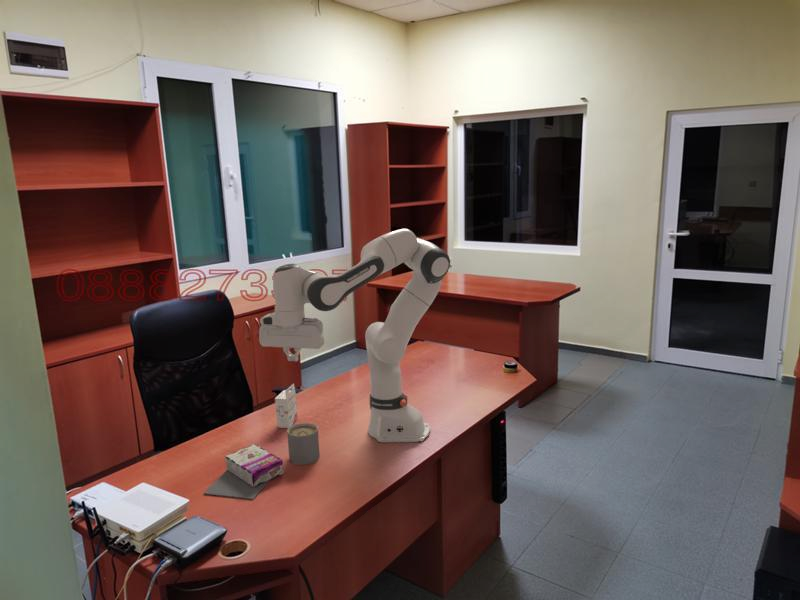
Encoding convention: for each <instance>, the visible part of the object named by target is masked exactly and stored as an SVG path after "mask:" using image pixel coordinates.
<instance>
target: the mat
mask: <svg viewBox="0 0 800 600" xmlns="http://www.w3.org/2000/svg"><path fill="white" fill-rule="evenodd" d="M270 480H271V479H270ZM270 480H268V481H266V482H263V483H261V484H259V485H257V486H255V487H252V486H251V485H249V484H248V483H246V482H245V481H243V480H242V479H240V478H239V477H237V476H236V475H235V474H233V473H231V472H230V471H229V470H227V469H226V470H225V471H224V472H223V473H222V474H221V475H220V476H219V477H218V478H217V479H216V480H215V481H214V482H213V483H212V484H211V485H210V486H209V487H208V488H207V489H206V490H205V491H204V492H203V495H205V494H210V495H209V496H214V495H216V496H217V497H223V496H225V498H232V497H234V499H241V498H244V499H243V500H250V499H251V500H252V501H254V500H255V499H256V497H257V496H258V495H259V494H260V493H261V491H262V490H263V489H264V488H265V486H267V484H268V483H270Z"/></svg>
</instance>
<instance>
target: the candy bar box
mask: <svg viewBox="0 0 800 600" xmlns="http://www.w3.org/2000/svg"><path fill="white" fill-rule="evenodd" d="M224 459H225V468H226V471H227V470H229V471H230V472H231V473H233V474H235V475H236V476H237V477H239V478H240V479H242V480H243V481H245V482H246V483H248V484H249V485H251V486H252V487H255V486H257V485H259V484H261V483H263V482H266V481H268V480H272V479H274V478H276V477H279V476H281V475H283V474H285V471H284V462H283V461H284V460H283V459H282V458H280V457H278V456H276V455H275V454H273V453H271V452H270V451H268V450H266V449H264V448H262V446H260V445H257V444H256V443H254V444H250V445H249V446H246V447H244V448H241V449H239V450H236V451H234V452H232V453H229V454H227V455H225V456H224Z"/></svg>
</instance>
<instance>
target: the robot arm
mask: <svg viewBox="0 0 800 600" xmlns="http://www.w3.org/2000/svg"><path fill="white" fill-rule="evenodd" d="M401 264H403V265H405V266H407V267H408V268H409V269H411V270H412V271H413V274H412V277H411V279H410V280H409V281H408V282H407V283H406V285H405V286H404V288H402V290H401V291H400V293H399V294H398V296H397V297H396V298H395V300H394V302H393V303H391V305H390V308H389V312H388V314H387V317H386V319H385V321H383V322H382V321H375V322H373V323H371V324H370V325H369V326H368V327H367V329H366V330H365V335H364V337H365V347H366V354H367V363H368V370H369V382H370V383H369V385H370V394H369V398H368V399H369V407H370V408H369V409H370V419H369V423H368V424H369V425H368V429H367V434H368V435H369V436H370V437H372V438H374V439H376V441H377V442H378V443H419V442H418V441H421V442H423V441H425V440H426V439H427V438H428V437H427V436H429V435H430V433H429V432H431V426H430V424H429V423H428V422H425V421H424V417H423V415H422V413H421V411H420V410H418V409H417V408H415V406H412V405H411V404H409V402H408V396H409V395H408V393H406V394H404V392H403V391H402V390H403V389H402V371H401V368H400V367H401V366H400V361H402V360H403V358H404V356H405V354H406V350H407V346H408V344H409V341H410V340H411V337H412V335H413V333H414V331H415V329H416V326H417V325H418V324H419V322H420V321H421V319H422V317H423V316H424V315H425V313H426V312H427V311H428V310H429V308H430V306H431V305H432V304H433V302H434V300H435V299H436V297H437V295H438V294H439V291H440V289H441V286H442V285H443V281H442V280H443V278H445V276H446V275H447V273H448V271H449V269H450V265H451V259H450V256H449V255H448V254H447V252H446V251H445V250H444V249H443V248H440V247H439V246H438V245H436V244H434V243H433V242H430V241H428V240H425V239H423V238H421V237H420V236H416V234H415V233H414V232H413V231H412V230H410V229H408V228H401V229H399V228H398V229H396V230H393V231H390V232H387V233H384V234H382V235H380V236H378V237H376V238H375V239H372V240H371V241H369V242H368V243H366V244H365V245H363V247H362V249H361V252H360V261H359V262H358V263H357V264H356V265H354V266H352V267H350V268H349V269H347V270H345V271H343V272H342V273H340V274H339V275H336V276H327V275H325V274H323V273H321V272H317V271H313V270H309V269H307V268H305V267H302V266H301V265H299V264H297V263H288V264H284V265H281V266H278V267H277V268H276V269H274V271H273V276H272V291H273V292H272V293H273V297H274V302H275V305H274V311H273V312H270V313H267V314H265V315H264V316H262V317H260V319H259V322H260V324H261V325H260V327H259V330H258V334H259V335H258V337H259V339H258V341H259V344H260V345H261V346H262V347H268V348H269V347H270V348H271V347H272V348H282V349H283V350H282V351H283V352H284V354H285V355H286V358H287V361H288V362H298V361H299V355H300V353H301V350H302V349H308V350H310V349H312V350H314V349H315V350H320V349H321V348H322V347H323V346H324V345H325V339H324V338H325V337H324V333H323V331H324V326H323V325H324V323H323V322H322V321H321V320H320V319H319V318H316V317H315V318H311V317H306V316H305V304H310V305H312V306H313V307H314V308H315V309H317V310H318V311H320V312H330V311H332V310H335V309H336V308H338V306H340V304H341V303H342V302H343V301H344V300H345V299H346V298H347V297H348V296H349V295H350V294H352V293H353V292H355V291H357V290H358V289H359V288H361V287H363V286H364V285H367V284H368V283H369V282H371V281H372V280H374V279H375V278H377V277H378V276H380V275H383V274H385V273H386V272H388V271H390V270H392V269H394V268H396V267H398V266H399V265H401ZM291 349H294V352H295V353H292V352H291V351H290V350H291ZM426 437H427V438H426ZM425 438H426V439H425ZM424 439H425V440H424Z"/></svg>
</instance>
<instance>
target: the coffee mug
mask: <svg viewBox="0 0 800 600" xmlns="http://www.w3.org/2000/svg"><path fill="white" fill-rule="evenodd" d="M286 434H287V435H286V436H287V447H288V458H289V461H290V463H292V464H294V465H298V466H299V465H301V466H305V465H310V464H312V463H315V462H317V461H318V460H319V459H320V440H319V438H320V437H319V429H318V426H317V424H314V423H310V422H300V423H296V424H292V426H291V427H290V428H287V433H286Z"/></svg>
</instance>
